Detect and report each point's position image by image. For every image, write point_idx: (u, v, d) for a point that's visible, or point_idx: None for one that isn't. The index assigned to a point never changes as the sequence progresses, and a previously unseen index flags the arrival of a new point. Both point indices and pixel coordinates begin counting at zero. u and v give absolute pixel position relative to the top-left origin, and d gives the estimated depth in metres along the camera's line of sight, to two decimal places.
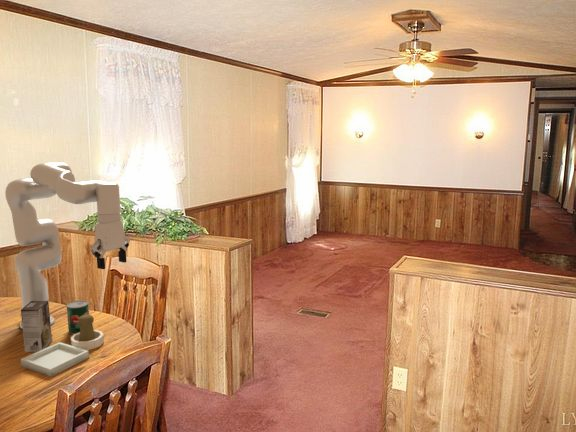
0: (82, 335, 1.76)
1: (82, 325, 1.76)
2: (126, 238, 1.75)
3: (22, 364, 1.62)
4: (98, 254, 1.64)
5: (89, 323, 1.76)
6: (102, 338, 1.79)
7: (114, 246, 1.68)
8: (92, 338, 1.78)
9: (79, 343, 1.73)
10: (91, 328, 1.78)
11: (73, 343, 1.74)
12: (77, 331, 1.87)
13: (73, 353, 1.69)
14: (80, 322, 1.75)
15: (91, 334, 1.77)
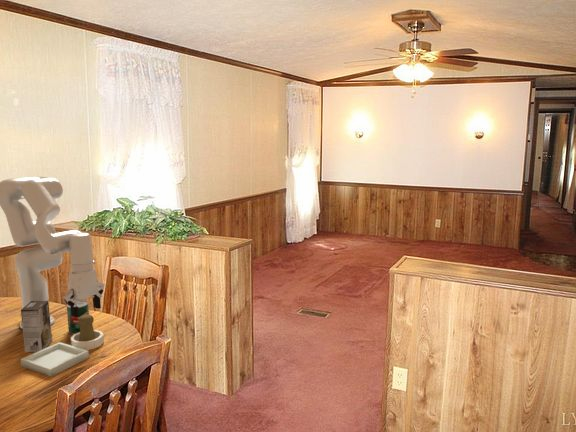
0: (82, 335, 1.76)
1: (82, 325, 1.76)
2: (100, 285, 1.81)
3: (22, 364, 1.62)
4: (71, 303, 1.70)
5: (89, 323, 1.76)
6: (102, 338, 1.79)
7: (87, 294, 1.74)
8: (92, 338, 1.78)
9: (79, 343, 1.73)
10: (91, 328, 1.78)
11: (73, 343, 1.74)
12: (77, 331, 1.87)
13: (73, 353, 1.69)
14: (80, 322, 1.75)
15: (91, 334, 1.77)
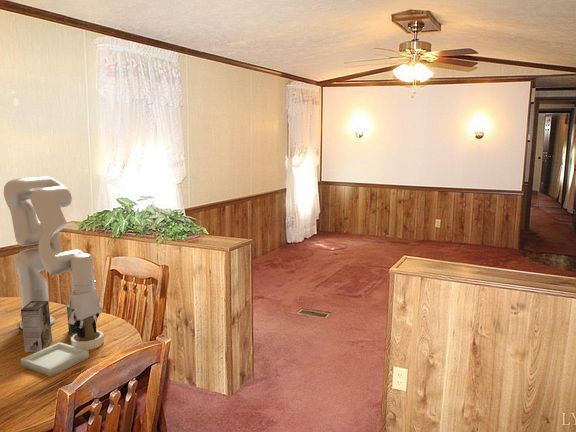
0: None
1: None
2: (98, 308, 1.82)
3: (22, 364, 1.62)
4: (78, 324, 1.74)
5: (89, 323, 1.76)
6: (102, 338, 1.79)
7: (88, 314, 1.76)
8: (92, 338, 1.78)
9: (79, 343, 1.73)
10: (91, 328, 1.78)
11: (73, 343, 1.74)
12: None
13: (73, 353, 1.69)
14: None
15: (91, 334, 1.77)
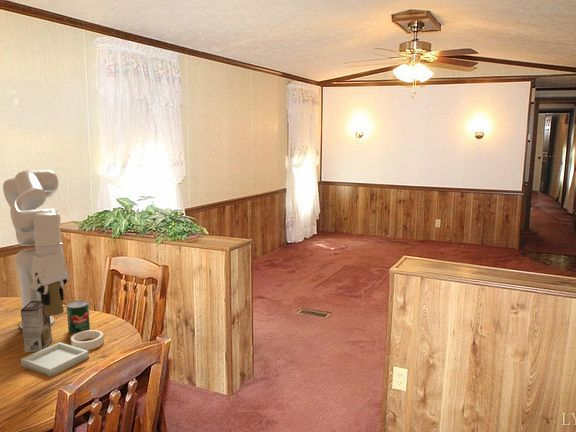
0: None
1: None
2: None
3: (22, 364, 1.62)
4: (42, 290, 1.57)
5: (55, 289, 1.60)
6: (102, 338, 1.79)
7: (54, 279, 1.59)
8: (58, 305, 1.61)
9: (79, 343, 1.73)
10: (57, 295, 1.61)
11: (73, 343, 1.74)
12: (77, 331, 1.87)
13: (73, 353, 1.69)
14: None
15: (57, 301, 1.61)
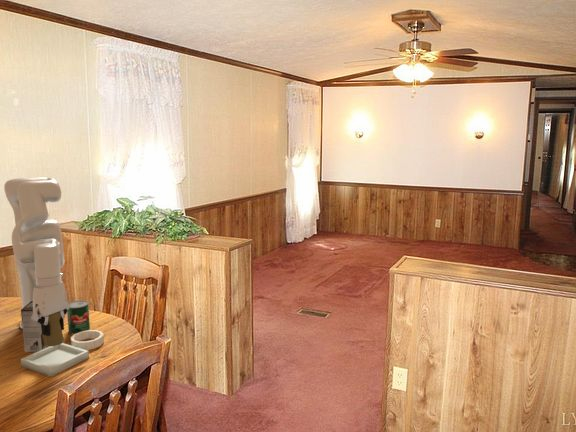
0: None
1: None
2: (66, 303, 1.66)
3: (22, 364, 1.62)
4: (42, 321, 1.58)
5: (55, 320, 1.61)
6: (102, 338, 1.79)
7: (54, 310, 1.60)
8: (59, 336, 1.62)
9: (79, 343, 1.73)
10: (58, 325, 1.62)
11: (73, 343, 1.74)
12: (77, 331, 1.87)
13: (73, 353, 1.69)
14: None
15: (58, 332, 1.62)
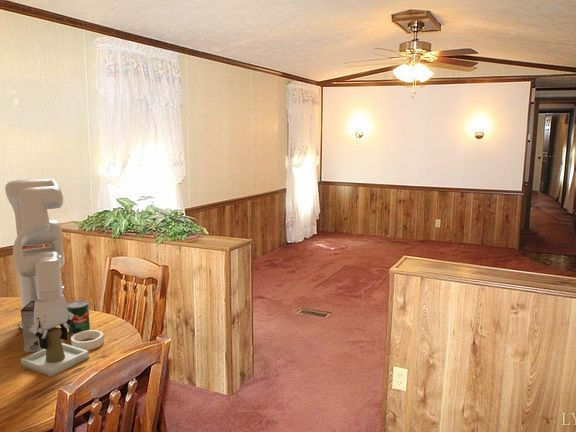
0: (49, 349, 1.62)
1: (48, 339, 1.62)
2: (69, 314, 1.68)
3: (22, 364, 1.62)
4: (40, 334, 1.58)
5: (56, 337, 1.62)
6: (102, 338, 1.79)
7: (55, 323, 1.61)
8: (59, 352, 1.64)
9: (79, 343, 1.73)
10: (59, 342, 1.63)
11: (73, 343, 1.74)
12: (77, 331, 1.87)
13: (73, 353, 1.69)
14: (46, 336, 1.61)
15: (59, 348, 1.63)
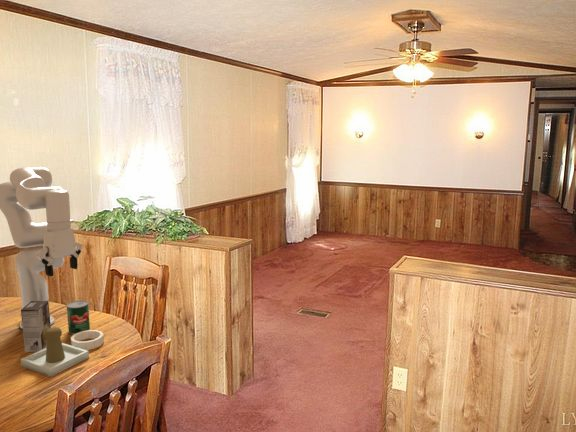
0: (49, 349, 1.62)
1: (48, 339, 1.62)
2: (78, 245, 1.75)
3: (22, 364, 1.62)
4: (46, 261, 1.64)
5: (56, 337, 1.62)
6: (102, 338, 1.79)
7: (63, 253, 1.68)
8: (60, 352, 1.64)
9: (79, 343, 1.73)
10: (59, 342, 1.63)
11: (73, 343, 1.74)
12: (77, 331, 1.87)
13: (73, 353, 1.69)
14: (46, 336, 1.61)
15: (59, 349, 1.63)
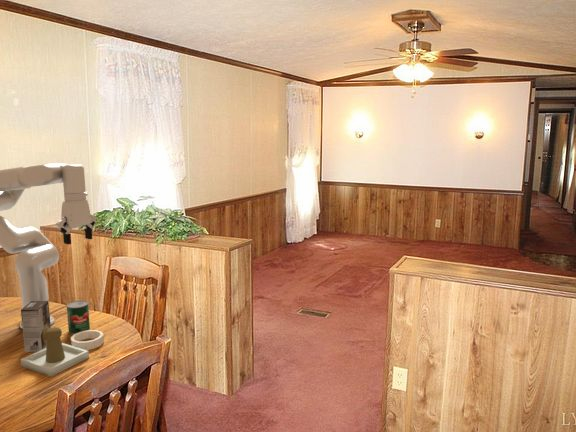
0: (49, 349, 1.62)
1: (48, 339, 1.62)
2: (92, 217, 1.89)
3: (22, 364, 1.62)
4: (64, 230, 1.78)
5: (56, 337, 1.62)
6: (102, 338, 1.79)
7: (80, 223, 1.82)
8: (60, 352, 1.64)
9: (79, 343, 1.73)
10: (59, 342, 1.63)
11: (73, 343, 1.74)
12: (77, 331, 1.87)
13: (73, 353, 1.69)
14: (46, 336, 1.61)
15: (59, 349, 1.63)
